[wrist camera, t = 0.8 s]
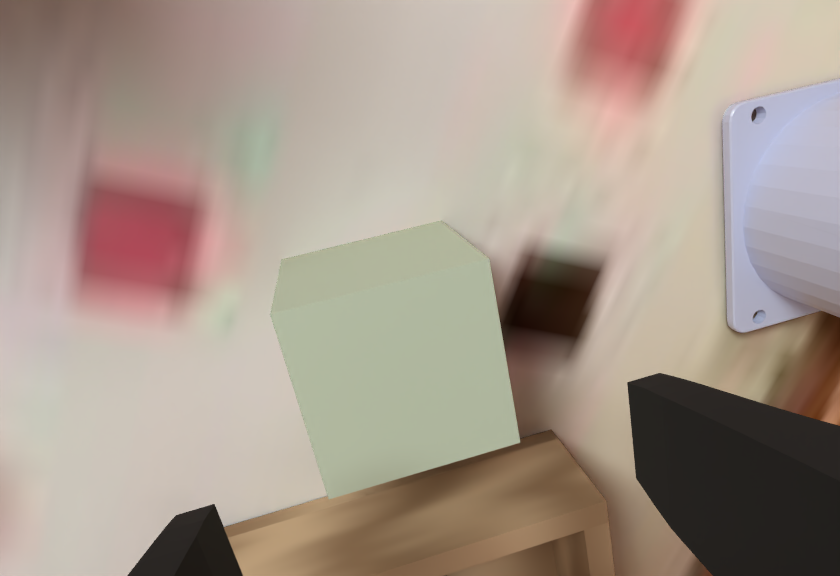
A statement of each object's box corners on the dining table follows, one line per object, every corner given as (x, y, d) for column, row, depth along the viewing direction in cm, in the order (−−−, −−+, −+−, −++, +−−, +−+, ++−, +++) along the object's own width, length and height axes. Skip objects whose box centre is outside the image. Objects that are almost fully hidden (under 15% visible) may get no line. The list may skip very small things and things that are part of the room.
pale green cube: (440, 220, 17) (489, 258, 13) (468, 361, 19) (520, 442, 14) (281, 259, 17) (270, 314, 12) (324, 401, 18) (328, 499, 14)
